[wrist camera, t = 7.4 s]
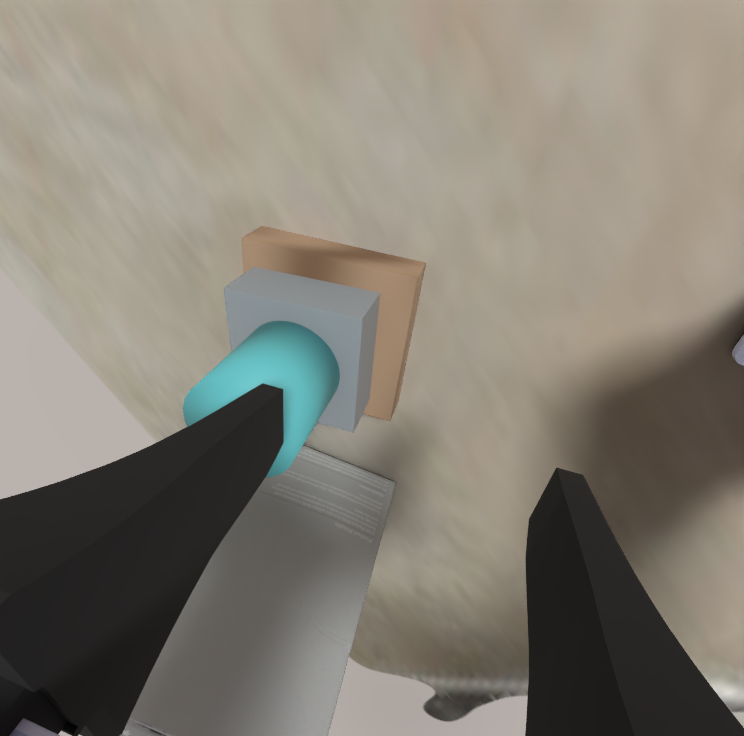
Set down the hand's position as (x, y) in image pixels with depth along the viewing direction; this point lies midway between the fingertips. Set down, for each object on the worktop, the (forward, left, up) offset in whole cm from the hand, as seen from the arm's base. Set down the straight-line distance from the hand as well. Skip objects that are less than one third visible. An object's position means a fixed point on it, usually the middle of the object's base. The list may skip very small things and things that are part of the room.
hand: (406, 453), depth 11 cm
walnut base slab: (+6, +3, -11) cm, 13 cm away
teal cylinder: (+6, +3, -6) cm, 9 cm away
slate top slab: (+6, +3, -9) cm, 11 cm away
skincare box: (+5, +15, -11) cm, 19 cm away
